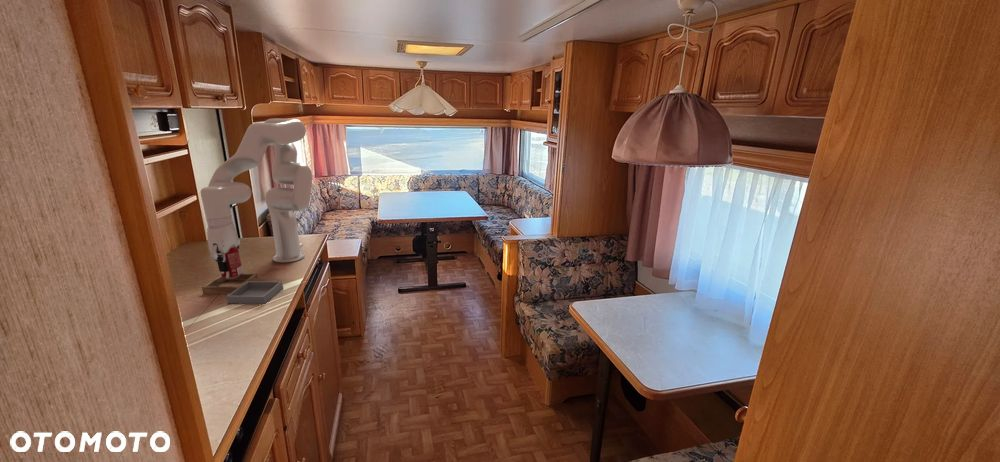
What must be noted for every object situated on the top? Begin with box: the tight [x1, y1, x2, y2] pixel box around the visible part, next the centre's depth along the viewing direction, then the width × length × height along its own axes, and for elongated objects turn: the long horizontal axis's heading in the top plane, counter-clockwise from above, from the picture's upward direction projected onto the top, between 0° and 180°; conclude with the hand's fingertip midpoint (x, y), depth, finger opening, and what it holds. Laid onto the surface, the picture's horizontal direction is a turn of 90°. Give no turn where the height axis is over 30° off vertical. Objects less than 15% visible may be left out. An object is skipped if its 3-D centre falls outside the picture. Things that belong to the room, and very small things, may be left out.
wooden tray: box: [201, 273, 259, 295], centre depth 150 cm, size 13×13×2 cm
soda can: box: [219, 245, 244, 279], centre depth 149 cm, size 7×7×12 cm
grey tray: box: [225, 280, 284, 306], centre depth 143 cm, size 13×13×3 cm
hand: (230, 267), depth 149 cm, fingers closed on soda can, 6 cm apart
